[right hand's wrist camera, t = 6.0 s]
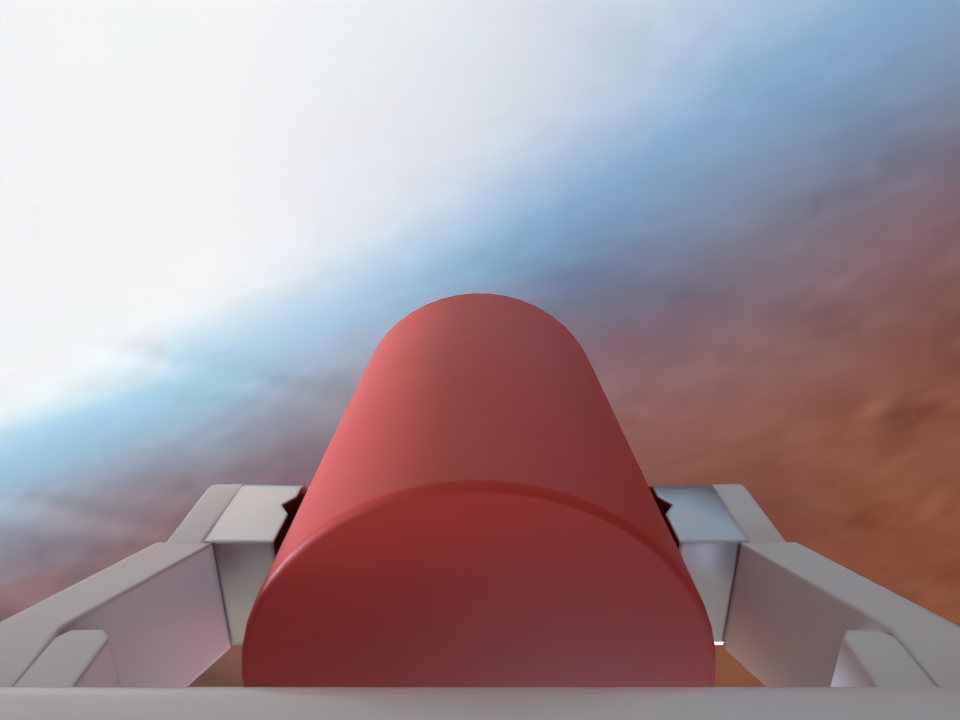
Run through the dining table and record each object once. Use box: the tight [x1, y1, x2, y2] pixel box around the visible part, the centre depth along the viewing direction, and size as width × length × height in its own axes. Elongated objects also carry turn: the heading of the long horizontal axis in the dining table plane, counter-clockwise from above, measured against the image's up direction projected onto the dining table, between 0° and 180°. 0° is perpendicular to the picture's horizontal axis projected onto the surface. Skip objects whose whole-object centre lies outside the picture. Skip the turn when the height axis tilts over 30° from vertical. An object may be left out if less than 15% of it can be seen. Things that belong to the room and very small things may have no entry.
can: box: [242, 294, 716, 687], centre depth 11 cm, size 6×6×8 cm
